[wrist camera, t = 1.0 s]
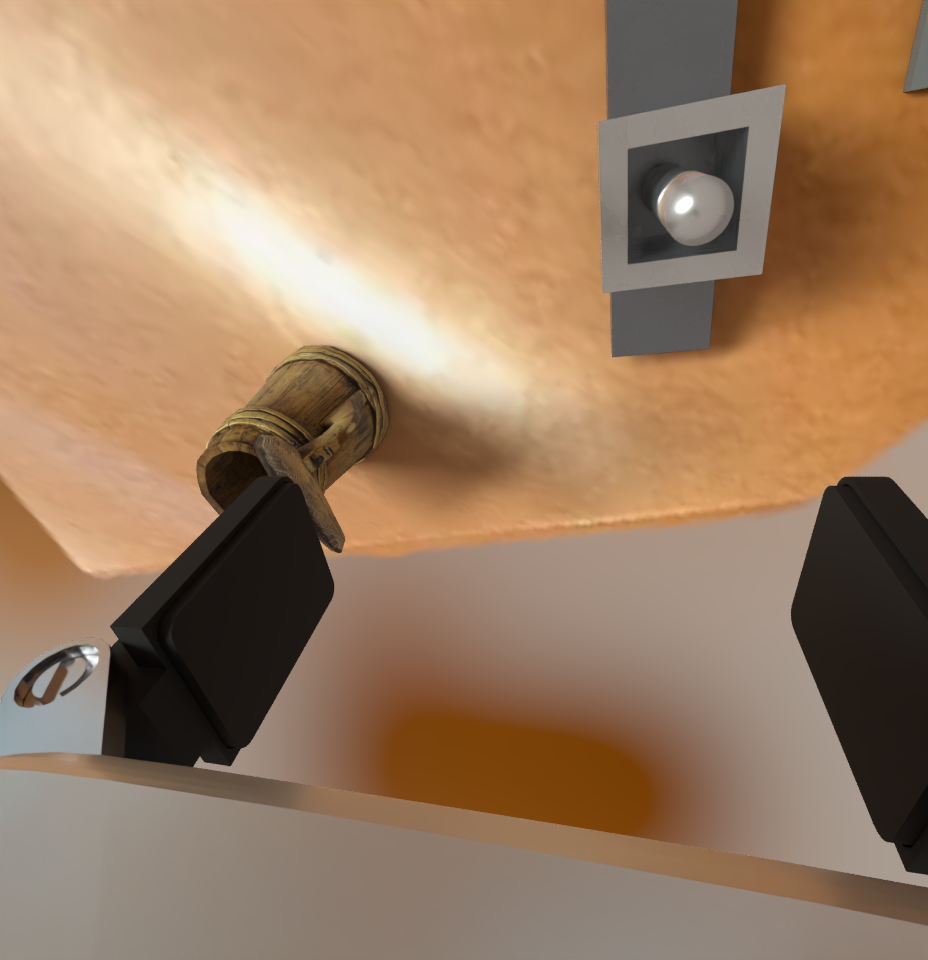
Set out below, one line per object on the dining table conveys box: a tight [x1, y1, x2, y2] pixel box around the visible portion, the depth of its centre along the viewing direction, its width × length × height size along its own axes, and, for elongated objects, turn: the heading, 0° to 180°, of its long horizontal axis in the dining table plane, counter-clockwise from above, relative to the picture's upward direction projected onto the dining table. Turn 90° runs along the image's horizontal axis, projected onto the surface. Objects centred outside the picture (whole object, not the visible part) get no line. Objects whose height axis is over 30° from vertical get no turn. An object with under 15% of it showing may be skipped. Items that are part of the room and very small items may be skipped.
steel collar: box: [597, 84, 786, 293], centre depth 22 cm, size 6×6×6 cm
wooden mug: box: [196, 346, 389, 553], centre depth 29 cm, size 9×14×18 cm, turn 118°
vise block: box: [605, 0, 738, 357], centre depth 20 cm, size 21×5×12 cm, turn 10°
